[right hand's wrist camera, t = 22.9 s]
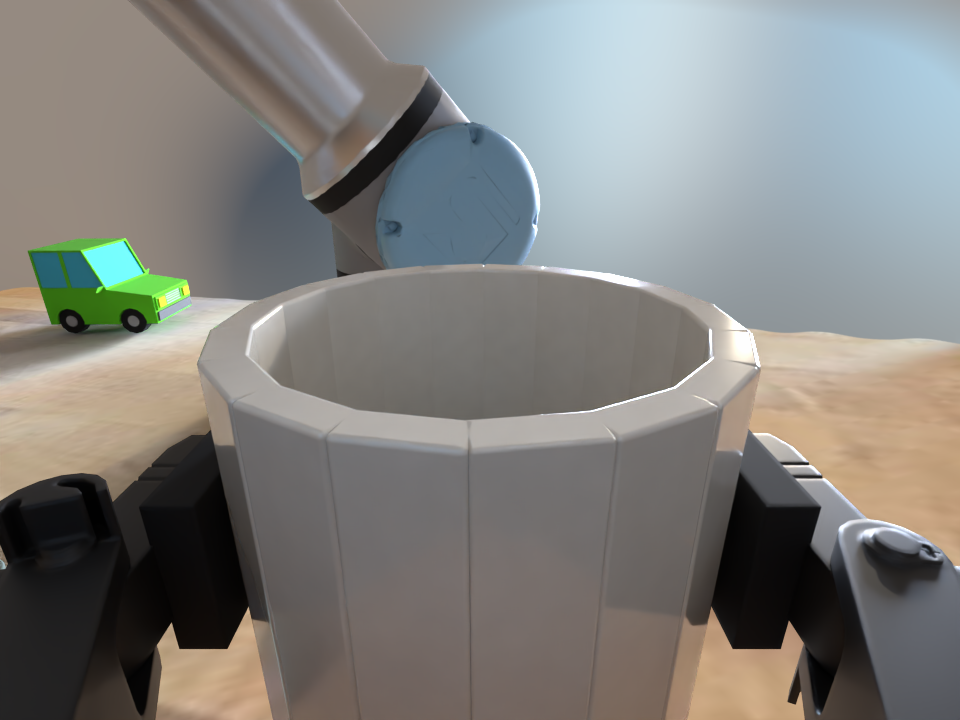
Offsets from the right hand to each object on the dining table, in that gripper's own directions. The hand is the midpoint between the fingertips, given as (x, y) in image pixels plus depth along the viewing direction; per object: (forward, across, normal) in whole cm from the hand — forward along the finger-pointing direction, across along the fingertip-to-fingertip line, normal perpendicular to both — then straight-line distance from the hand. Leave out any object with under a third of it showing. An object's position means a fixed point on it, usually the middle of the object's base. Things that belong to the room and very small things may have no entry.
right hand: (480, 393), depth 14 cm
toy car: (+53, -45, -16) cm, 71 cm away
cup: (-4, 0, -7) cm, 8 cm away
